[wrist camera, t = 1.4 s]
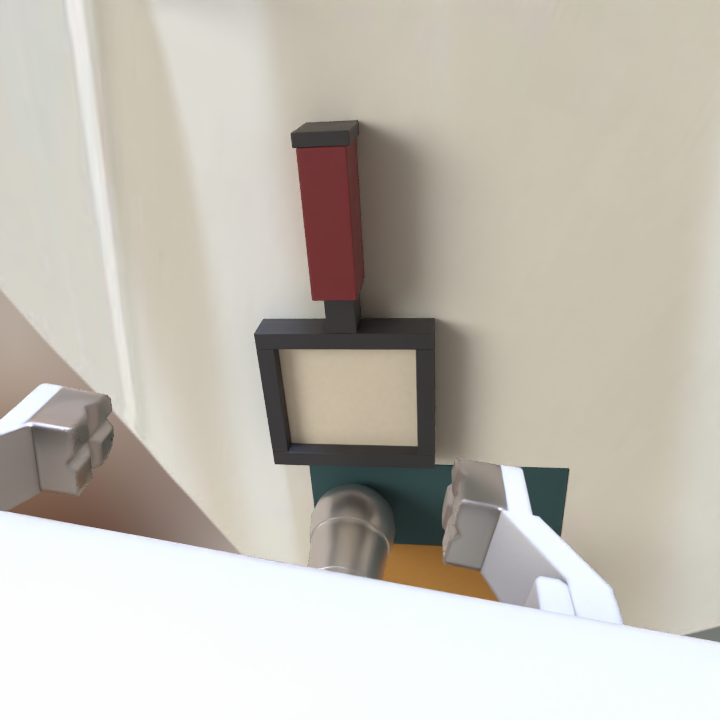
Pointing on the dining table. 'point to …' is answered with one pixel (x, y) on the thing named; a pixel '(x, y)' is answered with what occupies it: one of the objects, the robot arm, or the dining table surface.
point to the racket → (344, 337)
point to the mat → (435, 519)
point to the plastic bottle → (352, 532)
